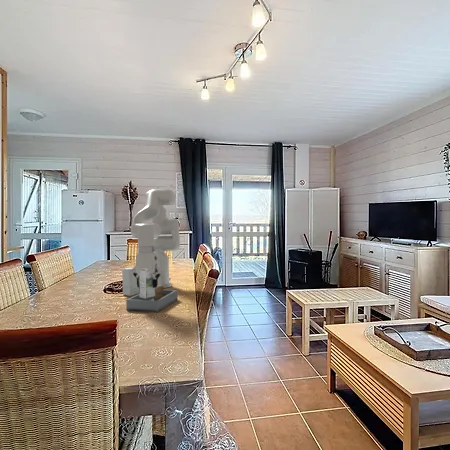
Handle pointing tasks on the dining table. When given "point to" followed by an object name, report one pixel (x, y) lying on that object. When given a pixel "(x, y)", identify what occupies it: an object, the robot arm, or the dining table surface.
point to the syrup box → (146, 284)
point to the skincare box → (129, 282)
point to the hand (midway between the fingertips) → (147, 286)
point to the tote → (151, 302)
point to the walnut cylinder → (159, 292)
